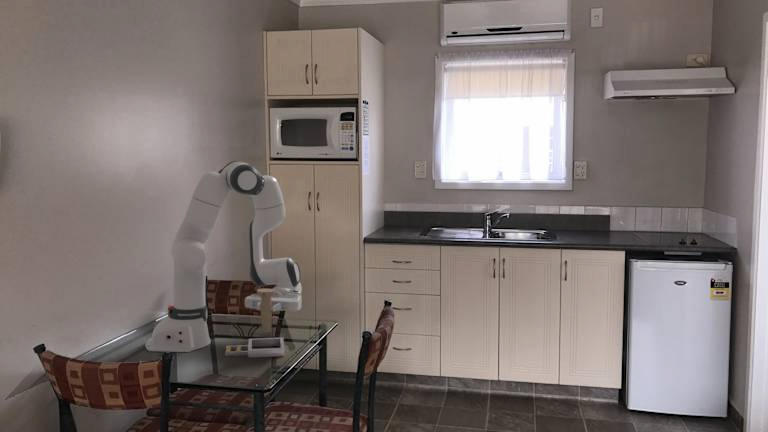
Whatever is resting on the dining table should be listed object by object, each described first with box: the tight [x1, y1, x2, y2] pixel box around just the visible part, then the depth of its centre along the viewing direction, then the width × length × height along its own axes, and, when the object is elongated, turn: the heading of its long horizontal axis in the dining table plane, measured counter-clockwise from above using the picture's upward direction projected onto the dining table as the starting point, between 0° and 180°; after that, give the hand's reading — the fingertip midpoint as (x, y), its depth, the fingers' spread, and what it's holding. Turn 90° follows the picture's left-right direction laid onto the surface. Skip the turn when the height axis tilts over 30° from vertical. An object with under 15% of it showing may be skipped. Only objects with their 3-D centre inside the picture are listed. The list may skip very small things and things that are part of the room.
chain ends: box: [224, 337, 285, 359], centre depth 232 cm, size 20×12×3 cm, turn 101°
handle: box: [256, 288, 275, 334], centre depth 231 cm, size 5×6×15 cm
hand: (265, 308), depth 230 cm, fingers closed on handle, 4 cm apart
